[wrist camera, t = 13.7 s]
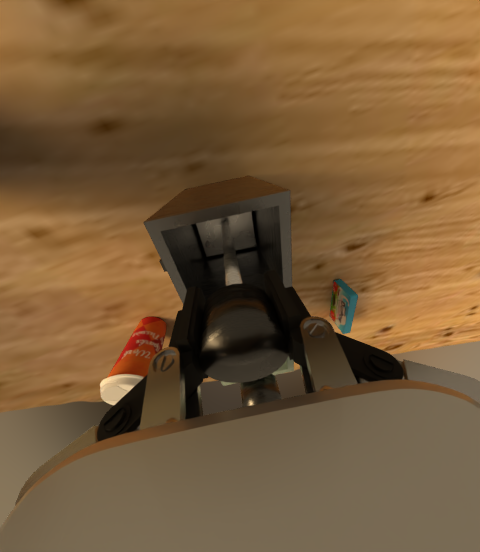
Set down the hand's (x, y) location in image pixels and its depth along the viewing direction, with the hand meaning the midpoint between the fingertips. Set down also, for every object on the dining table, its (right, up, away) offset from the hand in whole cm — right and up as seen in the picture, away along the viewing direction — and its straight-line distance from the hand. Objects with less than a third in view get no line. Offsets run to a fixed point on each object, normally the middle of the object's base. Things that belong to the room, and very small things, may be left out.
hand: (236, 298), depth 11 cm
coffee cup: (-20, -10, +30) cm, 37 cm away
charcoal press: (-2, +12, +18) cm, 22 cm away
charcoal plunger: (-2, +9, +14) cm, 16 cm away
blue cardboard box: (+24, -4, +32) cm, 40 cm away
